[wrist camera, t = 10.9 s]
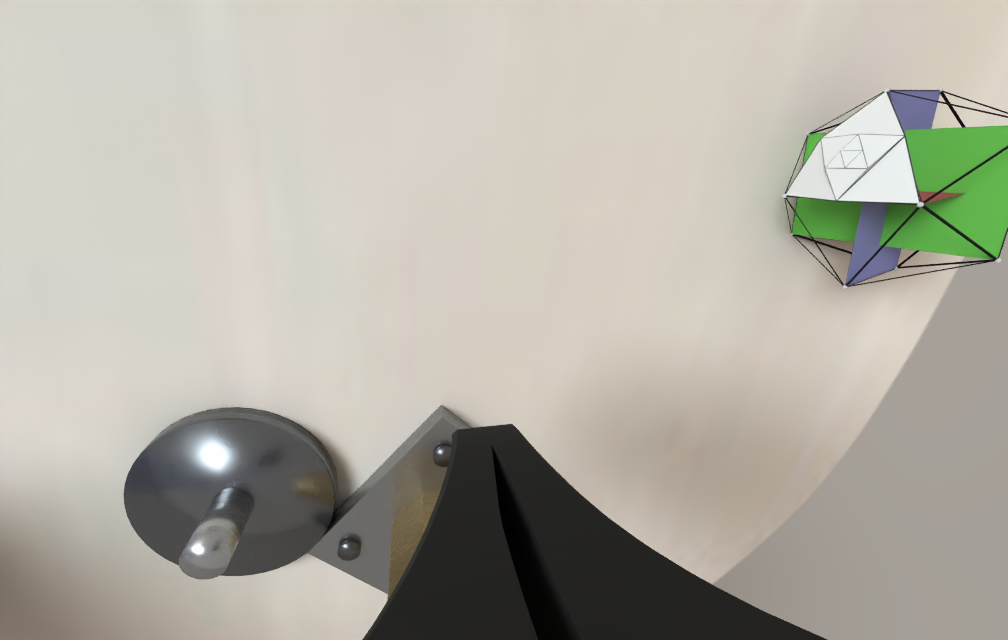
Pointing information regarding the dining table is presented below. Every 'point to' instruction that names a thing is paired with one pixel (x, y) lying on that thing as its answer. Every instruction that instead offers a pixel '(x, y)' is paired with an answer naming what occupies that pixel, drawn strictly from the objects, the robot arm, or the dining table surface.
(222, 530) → the stand
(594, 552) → the robot arm
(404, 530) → the brass collar
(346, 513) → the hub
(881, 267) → the geometric puzzle
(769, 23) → the dining table surface
